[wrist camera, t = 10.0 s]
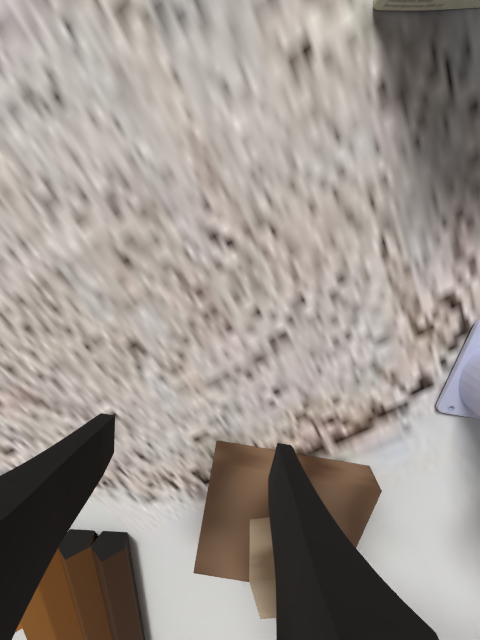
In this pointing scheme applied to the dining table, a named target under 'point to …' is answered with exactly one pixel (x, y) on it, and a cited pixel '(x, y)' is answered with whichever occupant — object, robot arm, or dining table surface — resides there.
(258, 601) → the maple block
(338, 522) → the walnut base
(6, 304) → the dining table surface
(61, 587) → the pan flute
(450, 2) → the skincare box
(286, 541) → the robot arm
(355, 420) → the dining table surface
